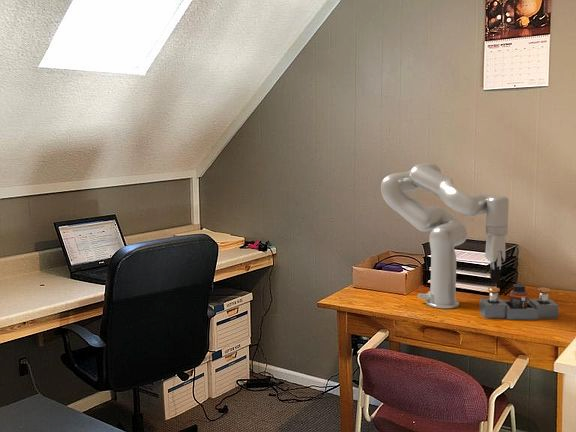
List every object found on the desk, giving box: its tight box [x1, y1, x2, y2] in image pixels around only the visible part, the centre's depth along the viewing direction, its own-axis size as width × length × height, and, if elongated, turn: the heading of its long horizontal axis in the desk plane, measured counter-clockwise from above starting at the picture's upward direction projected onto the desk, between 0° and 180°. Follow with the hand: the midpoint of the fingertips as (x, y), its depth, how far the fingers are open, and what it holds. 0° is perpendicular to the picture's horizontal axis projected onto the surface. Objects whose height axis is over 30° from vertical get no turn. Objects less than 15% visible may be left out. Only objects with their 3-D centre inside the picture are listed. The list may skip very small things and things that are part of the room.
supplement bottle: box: [509, 283, 528, 308], centre depth 228 cm, size 6×6×11 cm
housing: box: [478, 298, 560, 321], centre depth 228 cm, size 26×11×5 cm, turn 87°
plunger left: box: [487, 286, 501, 303], centre depth 228 cm, size 4×4×6 cm
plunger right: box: [537, 287, 551, 304], centre depth 227 cm, size 4×4×6 cm
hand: (495, 279), depth 227 cm, fingers closed
